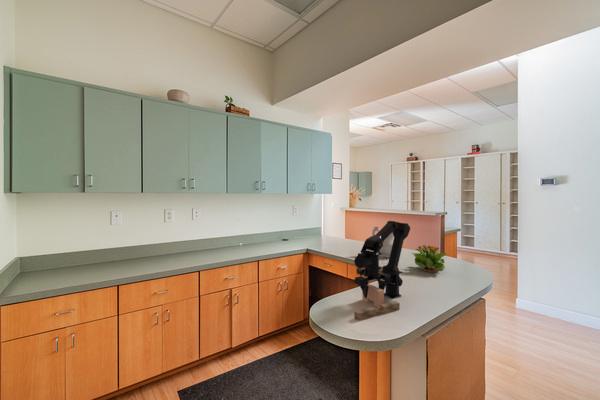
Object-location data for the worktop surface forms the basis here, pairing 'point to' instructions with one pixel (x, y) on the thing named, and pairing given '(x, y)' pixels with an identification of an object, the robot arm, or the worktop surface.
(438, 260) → the potted flower
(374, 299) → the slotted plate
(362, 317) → the brown rail
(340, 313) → the worktop surface
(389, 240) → the ceramic pitcher
